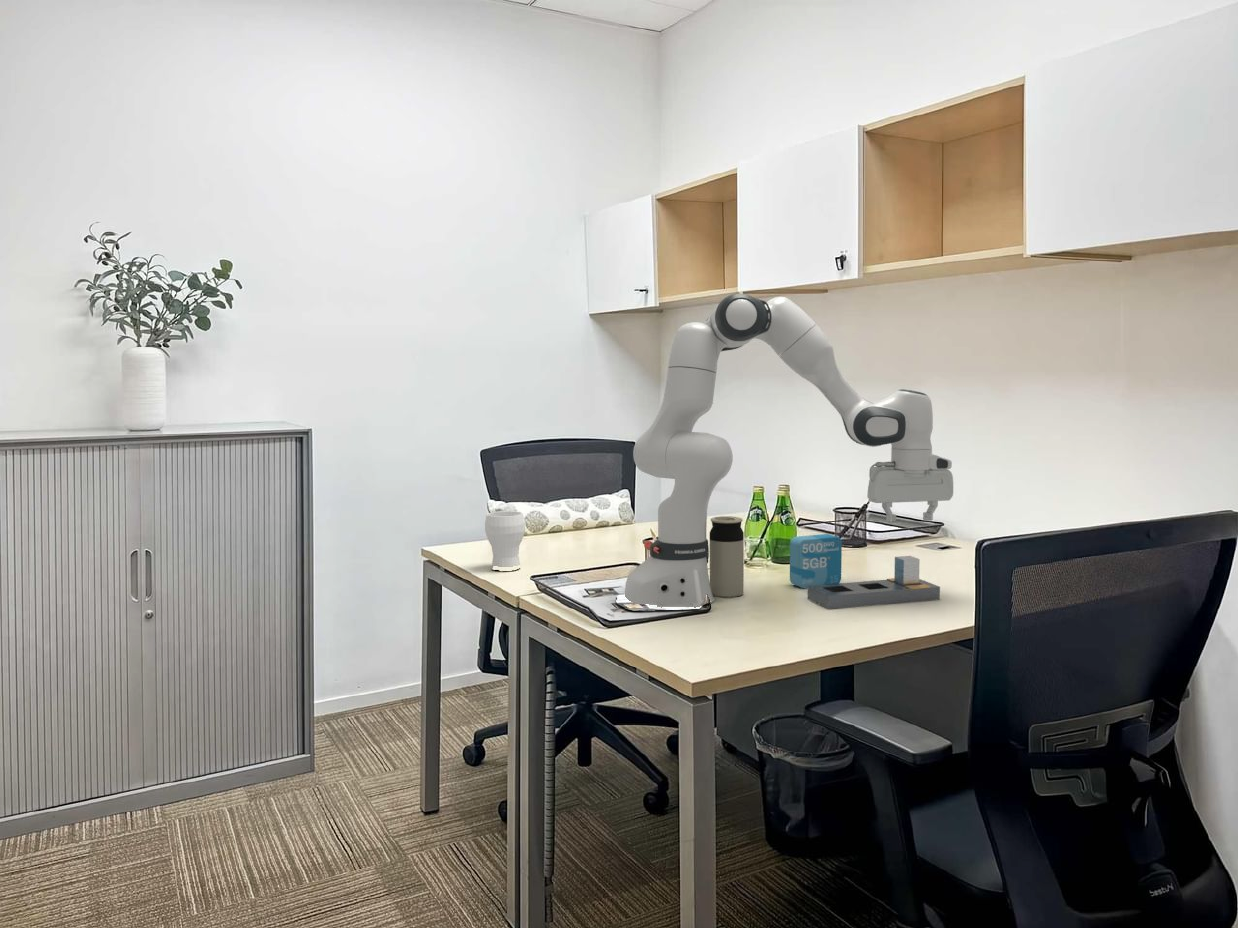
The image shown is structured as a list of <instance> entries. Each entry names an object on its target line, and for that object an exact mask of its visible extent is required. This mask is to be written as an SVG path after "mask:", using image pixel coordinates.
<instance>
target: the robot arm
mask: <svg viewBox="0 0 1238 928" xmlns="http://www.w3.org/2000/svg"><path fill="white" fill-rule="evenodd" d="M753 339H756V340H761V341H763V342H764V343H766V344H767V345H768V346H770V348H771V349H772V350H773V351H774V353H776V355H777V356H779V358H780V359H781V360H782V361H783V362H784V363H785V365H787V367H789V368H790V369H791V370H792V371H794V373H796V374H797V375H799V376H800V377H802V378H803V379H805V380H806V381H807V382H809V383H811V385H813V386H815V388H817V389H818V390H819V391H820V392H821V394H822V395H824V397H825V398H826V399H827V400H828V402H829V403H830V405H832V406H833V407H834V408H835V410H836V411H837V412H838V413H839V415H840V416H841V420H842V423H843V426H844V429H845V432H846V434H847V436H848V438H850V439H851V441H853V442H854V443H856V444H858V445H862V446H867V447H872V448H875V447H881V446H885V445H889V444H890V445H891V449H890V451H891V453H890V454H891V457H890V458H891V459H890V461H877V462H875V463H874V464H872V465H871V466H870V468H869V470H868V471H869V473H868V474H869V475H868V477H869V480H868V485H867V499H868V500H869V502H871V503H875V504H881V508H882V509H883V512H884V513H885V514H886V515H885V517H886V519H885V521H886V522H887V523H896V522H897V519H896V518H897V514H894V513H893V511H892V509H891V508H893V503H916V502H917V503H918V502H921V503H923V502H927V503H926V504H927V505H928V508H927V509H926V511H925V512H923V513H922V519H923V521H927V522H930V521H933V519H934V513H935V512H936V510H937V508H938V506H939V502H942V501H943V502H944V501H950V500H951V499H952V498H953V496H954V477H953V473H952V471H950V470H951V468H952V465H953V464H952V463H953V462H952V460H950V459H949V458H945V457H942V456H939V455H937V454H933V445H932V443H931V438H932V437H931V436H932V433H933V430H934V427H933V423H934V422H933V421H934V413H933V405H932V400H931V398H930V397H929V396H928V395H927V394H926V393H924V392H921V391H915V390H912V389H904V388H903V389H898V390H896V391H895V392H894V393H892V394H891V395H889V396H887V397H886V398H883V399H880V400H877V401H875V402H871V401H869V400H866V399H865V398H863V397H862V396H861V394H859V392H858V391H856V388H854V387H853V385H851V383H850V382H849V381H848V380H847V378H846V377H845V376H844V375H843V374H842V372H841V370H839V369H840V368H839V367H838V366H837V363H836V359H835V352H834V347H833V346H832V343H831V342H830V340H829V339H828V338H827V336H826V334H825V333H824V332H823V330H822V329H821V327H820V326H819V325H818V324H817V323H816V321H814V319H812V317H810V315H809V314H807V312H805V311H804V310H803V309H802V308H801V306H800V307H799V305H798V304H796V303H795V302H794V301H792V300H791V299H790V298H788V297H785V296H775V297H773V298H771V299H769V300H767V301H765V300H763V299H759V298H757V297H754V296H752V295H749V294H747V293H733V294H730V295H728V296H725V297H724V298H723V299H722V300H721V301H719V302H718V304H717V305H715V307H714V308H713V310H712V312H711V313H710V314H709V317H708V318H707V319H706V321H704V322H698V321H697V322H696V321H694V322H693V321H692V322H687V323H685V324H683V325H681V326H680V327H679V328H678V329H677V331H676V333H675V336H674V338H673V343H672V346H671V351H670V354H669V360H668V367H667V374H666V380H665V388H664V392H663V399H662V403H661V405H660V408H659V410H658V413H657V415H656V417H655V419H654V421H653V422H652V424H651V426H649V428H648V429H647V430H645V432H644V433H642V434H641V435H640V436H639V437H638V438H637V440H636V441H635V444H634V446H633V452H632V453H633V456H632V457H633V462H634V464H635V465H636V468H638V470H639V471H640V472H643V473H644V474H647V475H650V476H652V477H656V478H661V479H669V480H670V479H672V480H674V486H673V489H672V492H671V494H670V495H669V497H667V498H665V499H663V501H661V503H660V504H659V505H658V509H657V539H656V540H655V541H654V542H652V541H650V540H645V541H644V543H643V548H645V550H647V551H649V555H650V556H649V557H648V558H647V559H645V560H644V561H643V562H642V563H641V564H639V565H638V566H637V567H636V568H634V569H633V570H632V571H630V572H629V573H628V574H627V578H626V581H625V587H624V588H625V589H624V593H625V597H626V598H627V599H628V600H629V601H631V602H633V603H637V604H649V605H657V607H661V608H662V607H694V608H696V607H700V606H701V602H702V600H703V599H704V598H705V597H706V595H707V594H708V597H709V599H710V601H711V603H710V604H712V603H713V602H714V601H715V598H714V595H712V592H711V587H710V575H709V570H708V564H709V559H710V545H709V540H708V539H707V519H708V507H709V503H710V498H711V496H712V494H713V491H714V489H715V487H716V486H717V485H718V484H719V482H721V480H724V478H725V477H726V476H727V475H728V473H730V471H731V468H732V465H733V461H734V460H733V459H734V458H733V455H734V454H733V450H732V447H731V445H730V443H729V442H728V440H727V439H725V438H724V437H721V436H718V435H715V434H711V433H709V432H695V431H693V429H694V426H695V424H696V423H697V422H698V420H699V419H700V418H701V417H703V416H704V415H705V414H707V413H708V412H709V411H710V410H711V408H712V406H713V404H714V403H713V402H714V395H715V386H716V378H717V371H718V360H719V357H720V353H721V352H725V351H733V350H736V349H740V348H742V347H743V346H744V345H746V344H747V345H748V343H750V342H751V341H752V340H753Z"/></svg>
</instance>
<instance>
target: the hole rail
mask: <svg viewBox="0 0 1238 928" xmlns="http://www.w3.org/2000/svg"><path fill="white" fill-rule="evenodd" d="M940 596H941V586H939V585H936V584H935V583H931V582H929V581H926V580H925V579H924V580H923V579H921V578H919V585H910V586H905V587H904V586H901V585H899V584H896V583H894V577H893V578H886V579H880V580H878V579H876V580H866V581H853V582H840V583H838V584H825V585H812V586H808V588H807V600H809V601H811V602H814V603H815V604H817V605H819V606H821V607H823V608H824V609H827V610H835V609H845V608H857V607H870V606H879V605H880V606H881V605H882V606H883V605H892V604H895V605H896V604H904V603H916V602H927V601H937V600H938V601H939V600H941V597H940Z"/></svg>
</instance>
